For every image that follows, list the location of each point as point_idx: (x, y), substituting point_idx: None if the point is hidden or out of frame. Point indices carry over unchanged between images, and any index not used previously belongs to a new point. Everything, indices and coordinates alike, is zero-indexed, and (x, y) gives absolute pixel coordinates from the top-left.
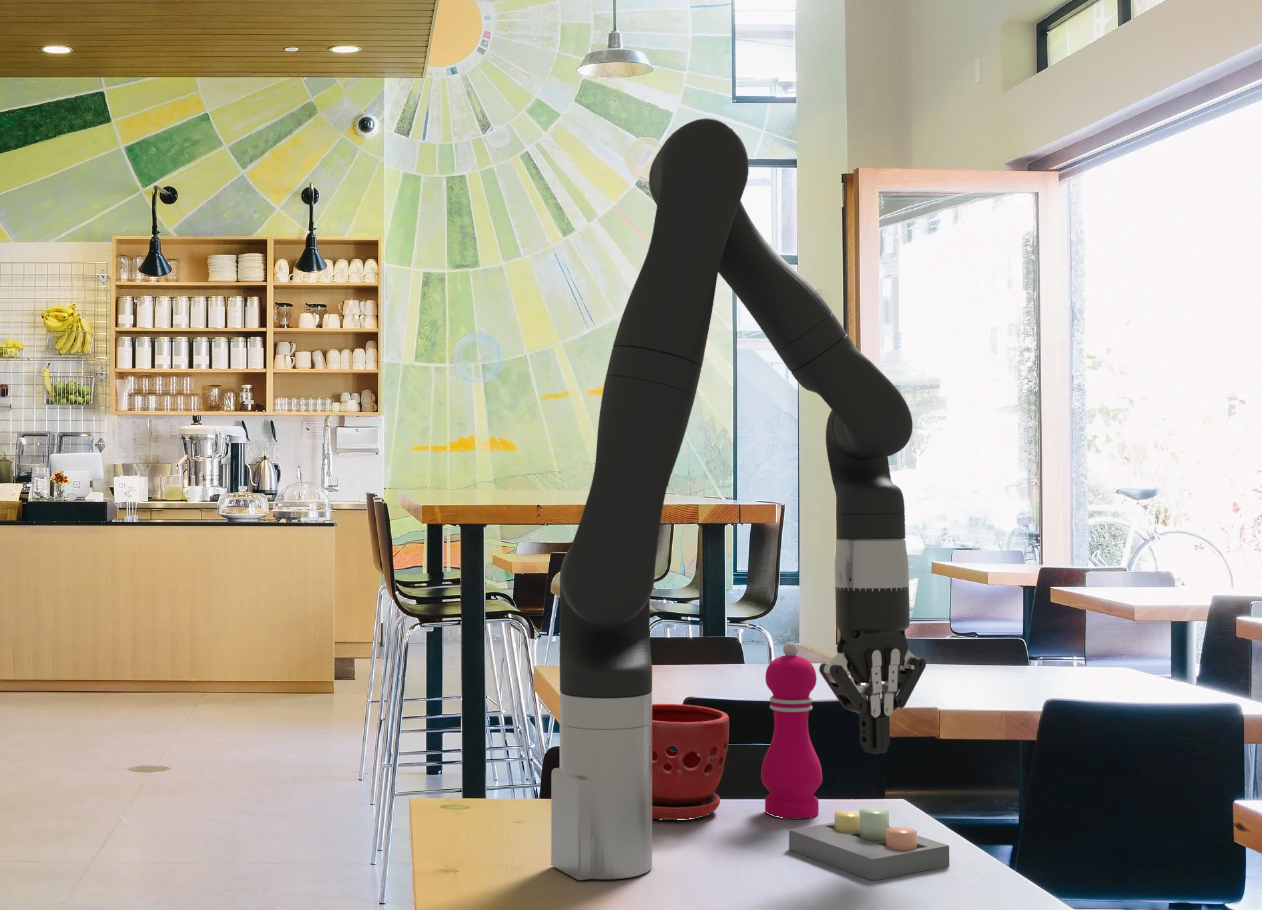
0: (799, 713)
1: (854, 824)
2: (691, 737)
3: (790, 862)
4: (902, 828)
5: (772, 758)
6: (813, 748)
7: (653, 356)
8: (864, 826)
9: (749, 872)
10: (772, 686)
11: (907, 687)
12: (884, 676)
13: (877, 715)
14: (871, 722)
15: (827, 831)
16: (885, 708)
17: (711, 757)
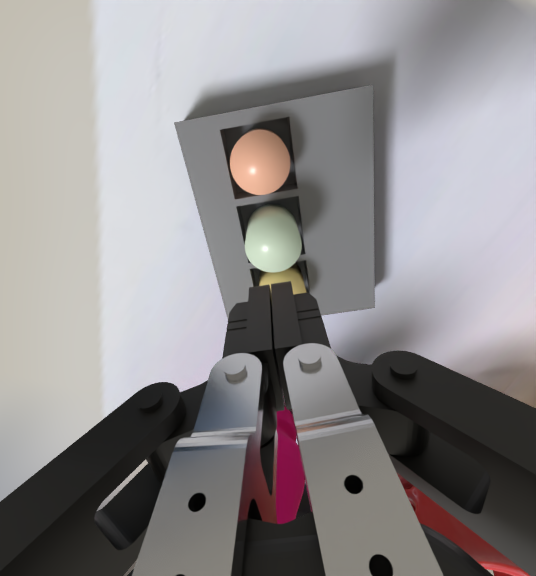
0: None
1: (286, 273)
2: (468, 532)
3: (409, 234)
4: (247, 180)
5: (300, 490)
6: None
7: None
8: (298, 230)
9: (498, 208)
10: None
11: (78, 476)
12: (246, 555)
13: (300, 348)
14: (314, 342)
15: (327, 280)
16: (253, 374)
17: (408, 497)
